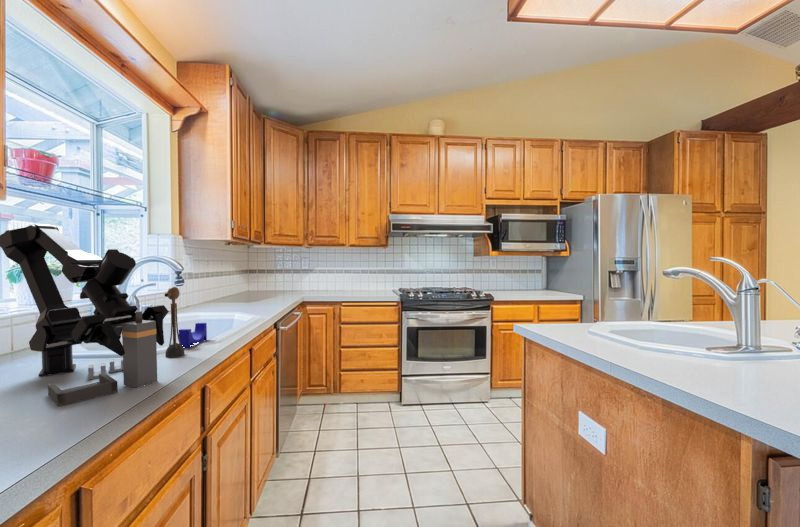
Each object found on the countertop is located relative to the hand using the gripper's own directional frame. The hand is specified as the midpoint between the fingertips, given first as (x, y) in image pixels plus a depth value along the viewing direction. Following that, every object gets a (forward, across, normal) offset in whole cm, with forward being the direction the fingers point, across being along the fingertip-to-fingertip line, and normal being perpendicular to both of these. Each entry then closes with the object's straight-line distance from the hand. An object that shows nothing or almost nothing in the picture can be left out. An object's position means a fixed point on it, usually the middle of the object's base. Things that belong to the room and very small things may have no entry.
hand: (143, 349), depth 85 cm
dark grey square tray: (+1, +8, -10) cm, 13 cm away
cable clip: (-10, -32, -21) cm, 40 cm away
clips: (-5, -4, -16) cm, 18 cm away
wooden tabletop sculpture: (-5, -20, -16) cm, 26 cm away
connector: (+5, 0, -6) cm, 8 cm away
